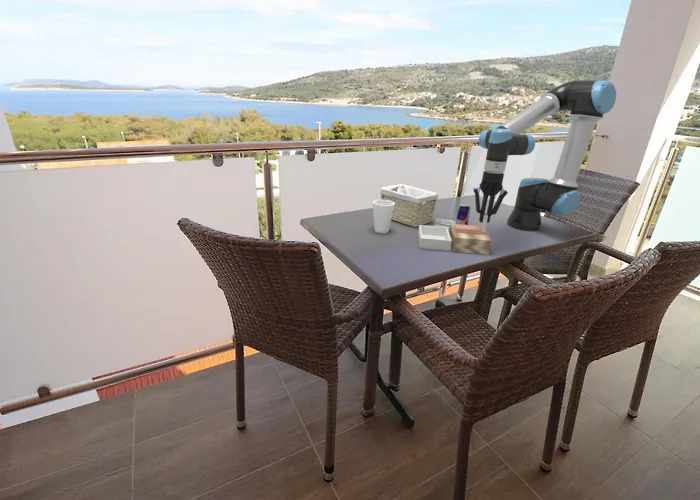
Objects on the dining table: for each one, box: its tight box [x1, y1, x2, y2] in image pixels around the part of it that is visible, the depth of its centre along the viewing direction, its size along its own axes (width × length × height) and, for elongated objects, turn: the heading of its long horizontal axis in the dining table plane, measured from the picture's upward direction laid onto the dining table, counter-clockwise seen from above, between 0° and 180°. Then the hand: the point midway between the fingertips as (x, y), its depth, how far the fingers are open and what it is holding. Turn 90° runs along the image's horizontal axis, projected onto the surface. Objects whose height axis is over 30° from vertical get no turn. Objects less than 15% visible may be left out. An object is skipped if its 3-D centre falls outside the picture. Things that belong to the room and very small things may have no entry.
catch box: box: [417, 224, 452, 252], centre depth 154 cm, size 12×16×4 cm
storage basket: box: [379, 183, 439, 228], centre depth 180 cm, size 24×16×15 cm
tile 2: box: [467, 224, 482, 235], centre depth 151 cm, size 5×5×2 cm
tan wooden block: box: [448, 223, 493, 256], centre depth 153 cm, size 14×16×6 cm
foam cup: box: [372, 199, 395, 234], centre depth 163 cm, size 10×9×13 cm
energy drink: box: [455, 202, 472, 225], centre depth 169 cm, size 5×5×12 cm
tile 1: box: [454, 223, 469, 234], centre depth 151 cm, size 5×5×2 cm
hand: (482, 229), depth 150 cm, fingers closed
